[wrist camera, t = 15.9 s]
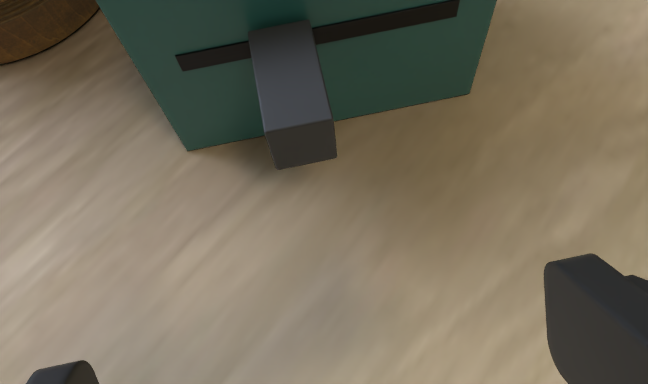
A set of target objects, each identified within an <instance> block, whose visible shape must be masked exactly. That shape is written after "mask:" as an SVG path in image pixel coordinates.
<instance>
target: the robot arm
mask: <svg viewBox="0 0 648 384" xmlns="http://www.w3.org/2000/svg"><path fill="white" fill-rule="evenodd" d="M544 289H545V306H546V324H547V339H548V345H549V349H550V353H551V356H552V358H553V361H554V363H555V365H556V367H557V369H558V371H559V372H560V374H561V375H562V377H563V378H564V379H565V381H566V382H567V383H568V384H648V280H645V279H642V278H640V277H637V276H634V275H629V276H624V275H622V274H621V273H620V272H618V271H617V270H616V269H614V268H613V267H612V266H610V265H609V264H608V263H606V262H605V261H604V260H602V259H601V258H600V257H598V256H597V255H595V254H585V255H581V256H576V257H571V258H566V259H562V260H557V261H552V262H549V263H547V264H546V266H545V269H544ZM26 384H99V382H98V380H97V377H96V375H95V372H94V370H93V368H92V367H91V365H90V364H89V363H88V362H86V361H84V360H81V361H76V362H71V363H67V364H62V365H57V366H53V367H48V368H43V369H39V370H37V371H35V372H34V373H33V374H32V376H31V377H30V378H29V380H28V381H27V383H26Z"/></svg>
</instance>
